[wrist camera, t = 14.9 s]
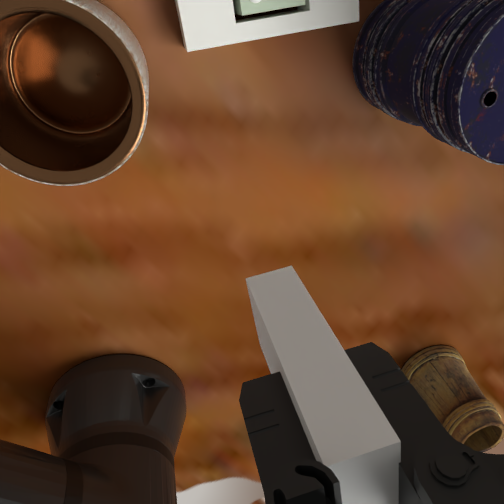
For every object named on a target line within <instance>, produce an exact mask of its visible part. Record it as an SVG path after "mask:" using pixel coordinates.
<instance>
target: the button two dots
mask: <svg viewBox="0 0 504 504" xmlns="http://www.w3.org/2000/svg"><path fill="white" fill-rule="evenodd" d="M301 5H305V0H233V7H234V14H237V15H248V14H254V13H260V12H266V11H272V10H277V9H283V8H289V7H295V6H301Z"/></svg>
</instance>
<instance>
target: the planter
mask: <svg viewBox="0 0 504 504" xmlns="http://www.w3.org/2000/svg"><path fill="white" fill-rule="evenodd" d="M148 96H149V74H148V67H147V63H146V59H145V56H144V53H143V51H142V48H141V46H140V44H139V42H138V40H137V39H136V37H135V35H134V34H133V32H132V31H131V30H130V28H129V27H128V26H127V25H126V23H125V22H124V21H123V20H122V19H121V18H120V17H119V16H118V15H117V14H115V13H114V12H113V11H112V10H110V9H109V8H108V7H106V6H105V5H103V4H101V3H100V2H98V1H96V0H0V165H1V166H2V167H4V168H5V169H7V170H9V171H11V172H13V173H15V174H17V175H19V176H21V177H24V178H26V179H29V180H32V181H35V182H39V183H43V184H48V185H57V186H73V185H81V184H86V183H90V182H93V181H97V180H99V179H102V178H104V177H106V176H108V175H109V174H111V173H113V172H114V171H116V170H117V169H118V168H120V167H121V166H122V165H123V164H124V163H125V162H126V161H127V160H128V159H129V158H130V157H131V155H132V154H133V153H134V151H135V150H136V148H137V146H138V145H139V143H140V141H141V139H142V136H143V133H144V130H145V127H146V122H147V116H148Z"/></svg>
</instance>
